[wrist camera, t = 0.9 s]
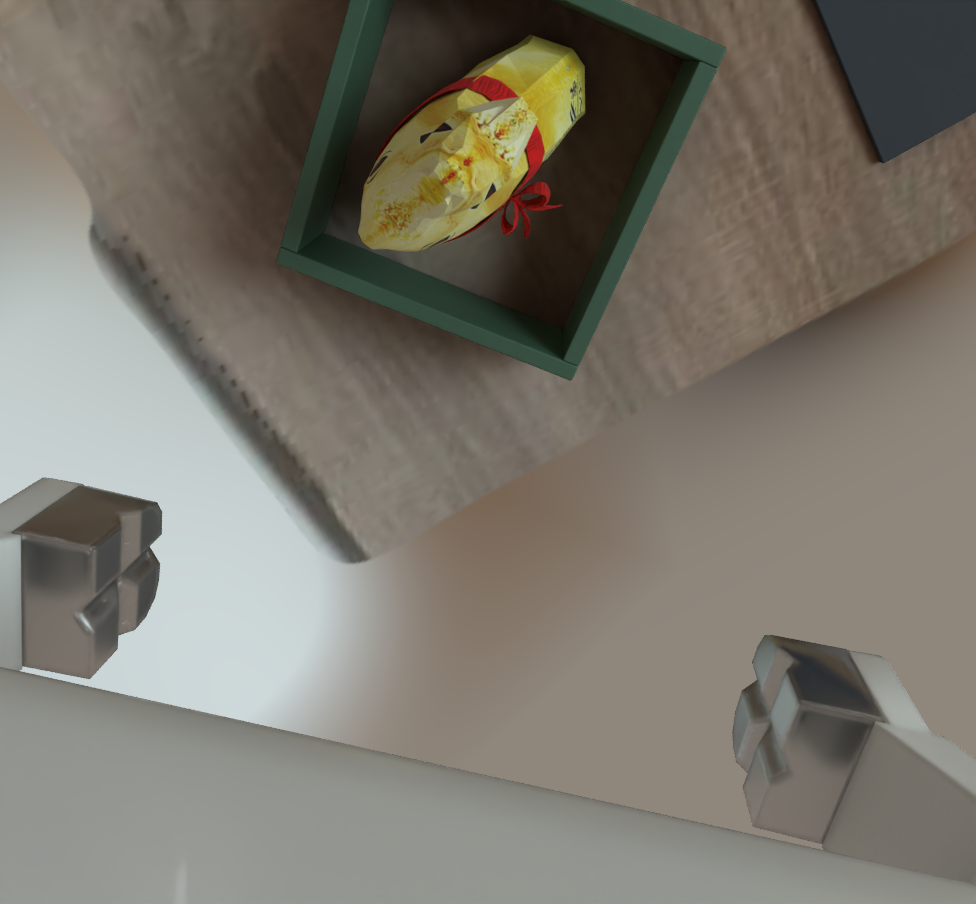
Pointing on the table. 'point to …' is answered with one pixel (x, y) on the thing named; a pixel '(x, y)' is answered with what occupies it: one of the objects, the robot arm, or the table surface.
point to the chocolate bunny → (474, 149)
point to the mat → (905, 65)
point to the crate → (445, 301)
